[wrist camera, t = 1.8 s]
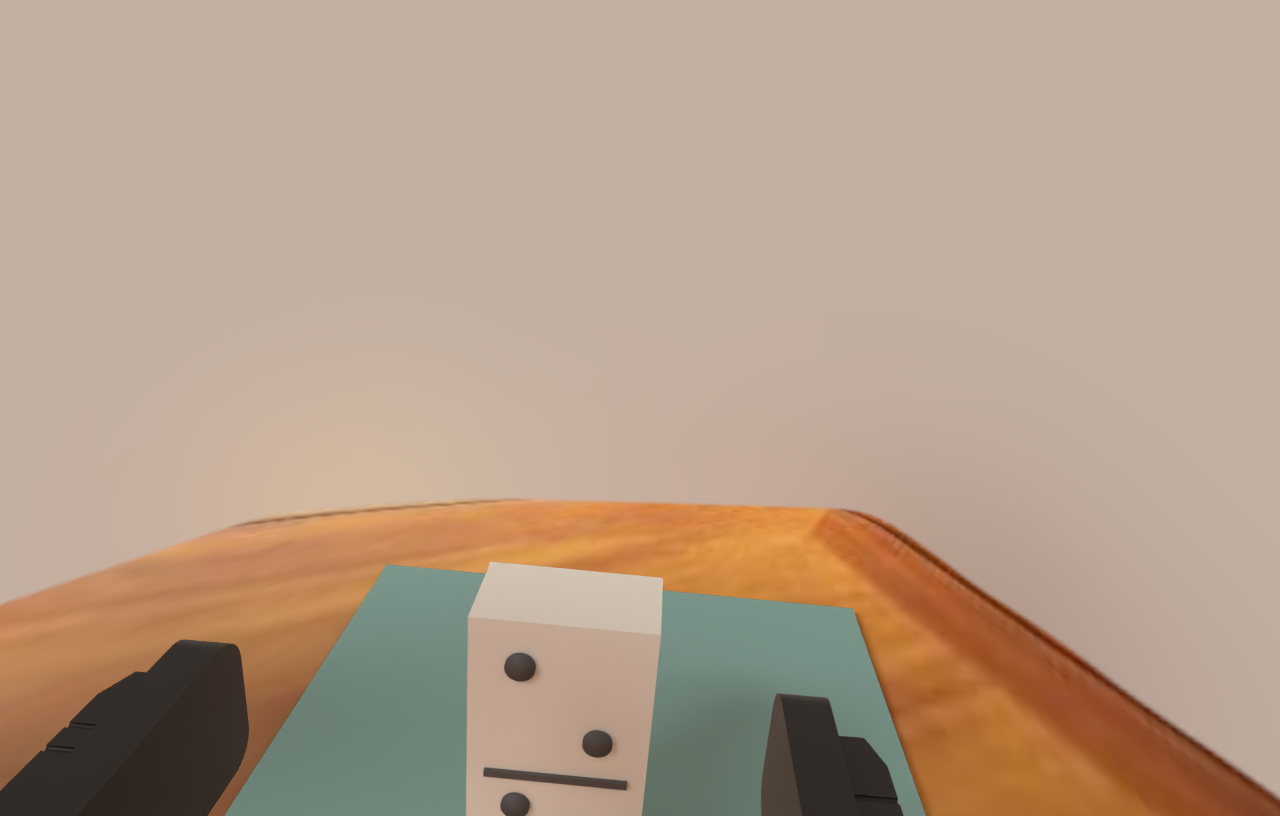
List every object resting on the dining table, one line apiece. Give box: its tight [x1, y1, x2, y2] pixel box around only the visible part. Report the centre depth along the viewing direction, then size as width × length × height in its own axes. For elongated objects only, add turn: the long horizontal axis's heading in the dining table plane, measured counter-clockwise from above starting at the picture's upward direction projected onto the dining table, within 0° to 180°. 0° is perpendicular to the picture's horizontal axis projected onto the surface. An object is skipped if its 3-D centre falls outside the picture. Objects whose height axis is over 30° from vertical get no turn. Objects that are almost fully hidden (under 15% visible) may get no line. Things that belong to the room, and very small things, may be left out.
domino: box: [466, 562, 663, 816], centre depth 26 cm, size 6×3×11 cm, turn 87°
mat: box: [224, 565, 926, 816], centre depth 35 cm, size 26×22×1 cm
